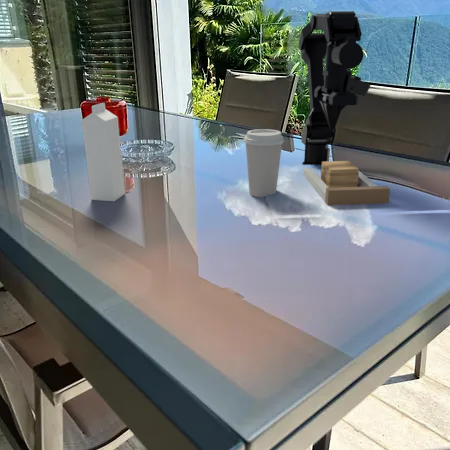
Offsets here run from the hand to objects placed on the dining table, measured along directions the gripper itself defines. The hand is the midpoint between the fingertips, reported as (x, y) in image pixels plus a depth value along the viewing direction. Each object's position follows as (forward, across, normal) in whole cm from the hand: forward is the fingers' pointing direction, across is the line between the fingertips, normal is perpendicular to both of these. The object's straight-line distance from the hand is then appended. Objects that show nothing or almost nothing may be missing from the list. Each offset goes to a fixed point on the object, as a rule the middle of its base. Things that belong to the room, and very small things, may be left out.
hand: (332, 129), depth 121 cm
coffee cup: (+13, -13, +20) cm, 27 cm away
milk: (+13, -12, +58) cm, 60 cm away
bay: (+13, -12, 0) cm, 18 cm away
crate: (+12, -9, 0) cm, 15 cm away
